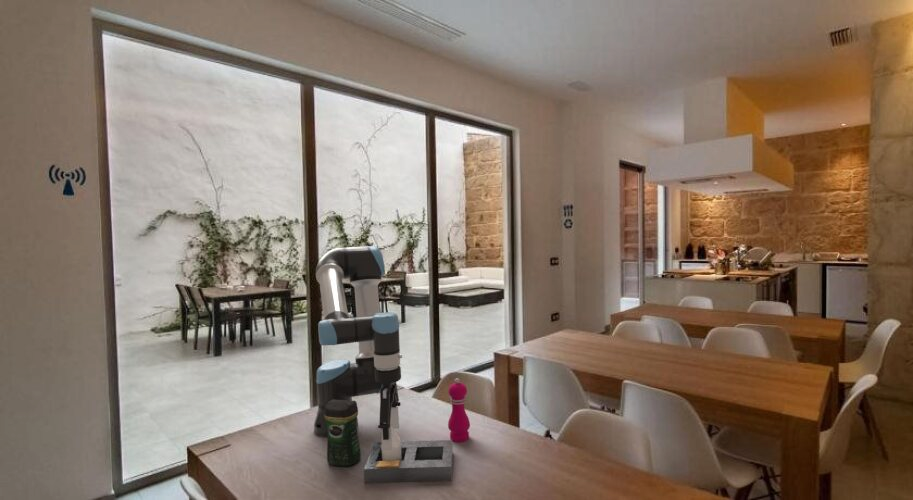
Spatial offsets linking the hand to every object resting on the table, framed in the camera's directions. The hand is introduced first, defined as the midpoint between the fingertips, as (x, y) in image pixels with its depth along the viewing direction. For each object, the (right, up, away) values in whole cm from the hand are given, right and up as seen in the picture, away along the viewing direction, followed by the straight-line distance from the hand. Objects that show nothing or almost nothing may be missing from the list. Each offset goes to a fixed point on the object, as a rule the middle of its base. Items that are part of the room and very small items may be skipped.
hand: (391, 438), depth 136 cm
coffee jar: (-15, -9, +6) cm, 19 cm away
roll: (0, -9, 0) cm, 9 cm away
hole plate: (+6, -9, 0) cm, 10 cm away
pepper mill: (+20, -7, +18) cm, 28 cm away
